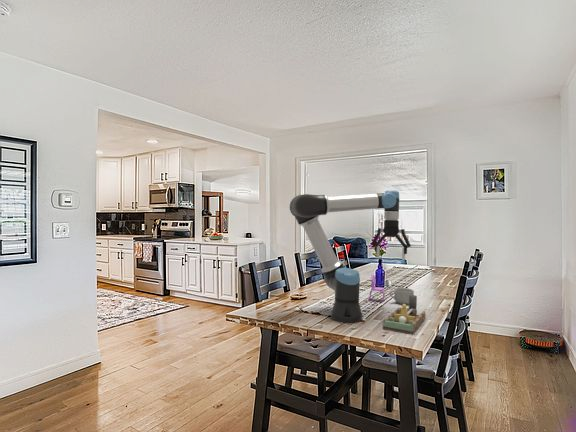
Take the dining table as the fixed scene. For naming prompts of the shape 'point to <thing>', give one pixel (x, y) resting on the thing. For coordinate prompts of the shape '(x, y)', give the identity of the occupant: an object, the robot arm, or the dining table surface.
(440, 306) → the dining table surface
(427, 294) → the dining table surface
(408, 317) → the kicker
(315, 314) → the dining table surface
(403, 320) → the ball
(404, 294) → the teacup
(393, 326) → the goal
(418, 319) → the tray
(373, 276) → the chair
